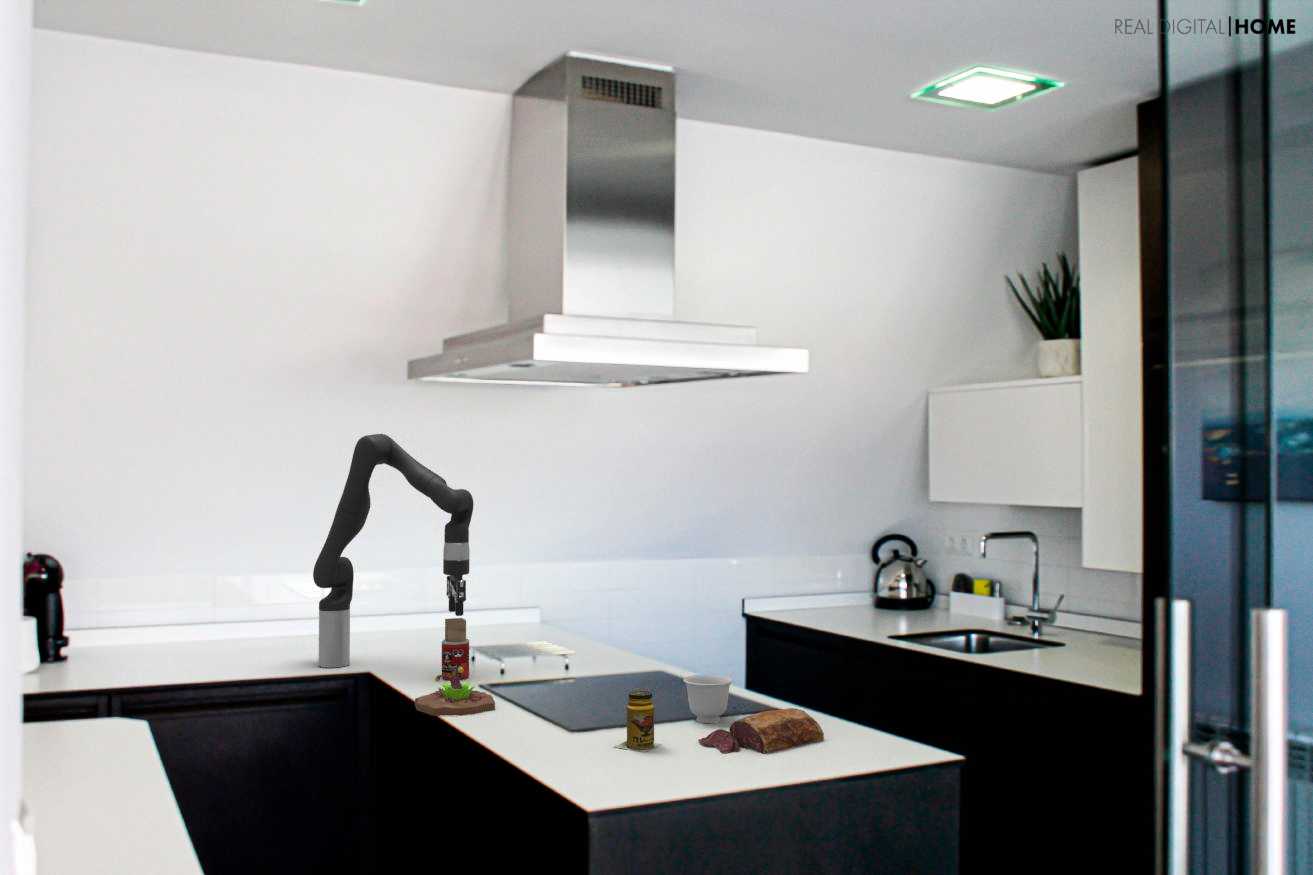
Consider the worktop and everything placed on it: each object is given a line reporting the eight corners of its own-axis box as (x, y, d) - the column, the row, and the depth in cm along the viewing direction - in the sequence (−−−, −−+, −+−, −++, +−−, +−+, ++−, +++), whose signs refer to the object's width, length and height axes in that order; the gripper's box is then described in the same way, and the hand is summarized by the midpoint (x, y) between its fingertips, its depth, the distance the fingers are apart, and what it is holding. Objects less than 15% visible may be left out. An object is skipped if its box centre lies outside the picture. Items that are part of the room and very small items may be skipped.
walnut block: (444, 639, 321) (445, 618, 321) (461, 638, 323) (462, 617, 323) (448, 641, 316) (449, 621, 316) (466, 640, 318) (466, 620, 319)
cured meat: (688, 744, 245) (689, 714, 245) (765, 726, 262) (765, 698, 262) (747, 763, 232) (748, 731, 232) (824, 743, 249) (824, 713, 249)
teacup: (715, 710, 278) (715, 670, 278) (741, 723, 264) (741, 681, 265) (671, 714, 274) (671, 674, 274) (695, 727, 260) (695, 685, 260)
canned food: (436, 679, 318) (436, 641, 318) (453, 674, 325) (453, 637, 325) (457, 681, 314) (457, 643, 314) (474, 676, 321) (474, 639, 321)
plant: (430, 720, 269) (430, 674, 269) (407, 704, 286) (407, 661, 286) (507, 711, 279) (507, 667, 279) (480, 696, 296) (480, 655, 296)
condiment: (646, 752, 238) (646, 697, 239) (612, 747, 242) (612, 693, 243) (662, 744, 245) (662, 690, 245) (629, 740, 249) (629, 687, 249)
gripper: (438, 556, 325) (437, 610, 325) (449, 560, 312) (448, 617, 312) (463, 555, 328) (462, 609, 328) (475, 559, 315) (474, 616, 315)
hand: (455, 613), depth 320 cm, fingers open, 8 cm apart
